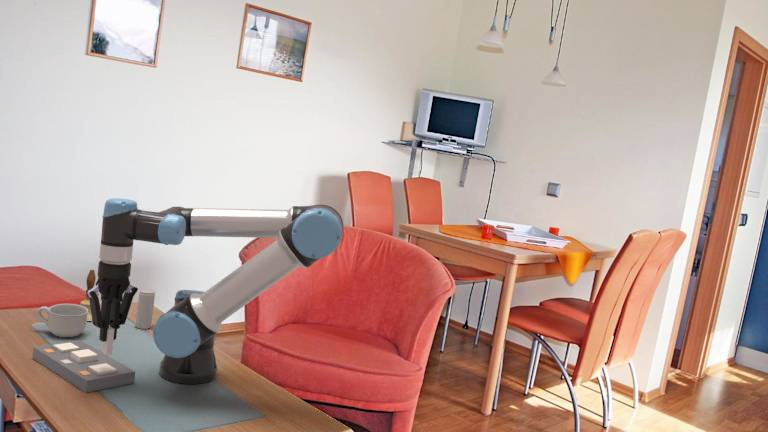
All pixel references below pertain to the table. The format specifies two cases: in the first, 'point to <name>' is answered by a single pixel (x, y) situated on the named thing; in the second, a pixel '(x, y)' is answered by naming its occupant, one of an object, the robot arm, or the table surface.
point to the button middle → (83, 356)
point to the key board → (83, 368)
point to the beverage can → (145, 309)
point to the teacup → (65, 319)
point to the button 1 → (66, 347)
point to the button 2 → (102, 369)
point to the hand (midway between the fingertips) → (106, 352)
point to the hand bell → (86, 302)
